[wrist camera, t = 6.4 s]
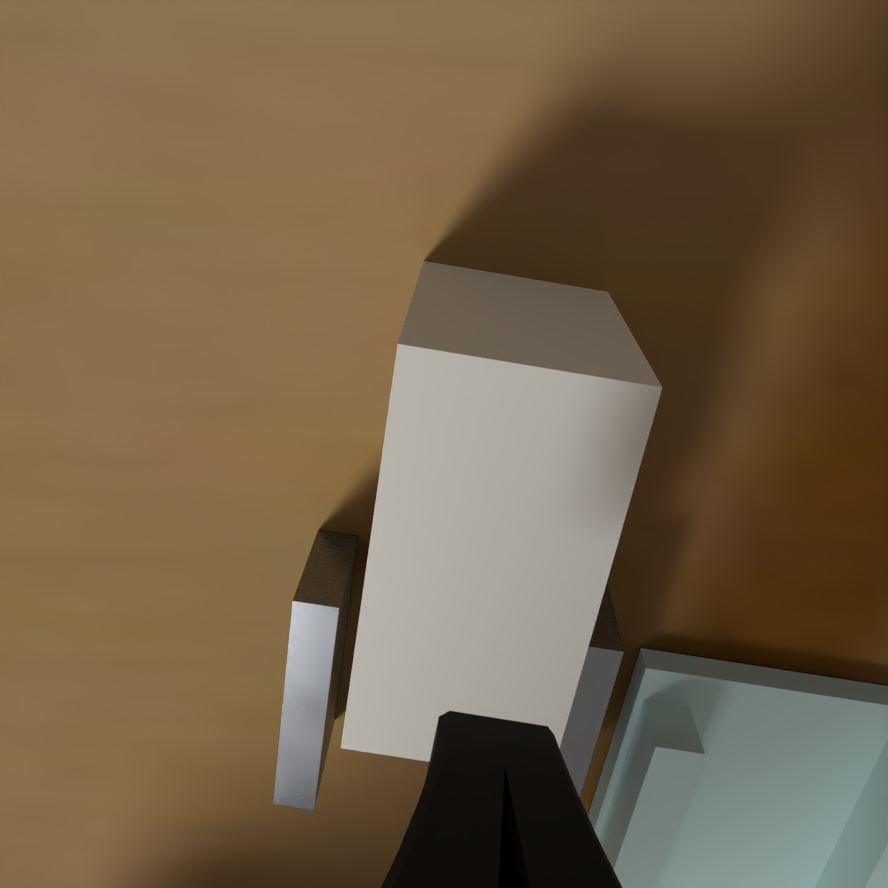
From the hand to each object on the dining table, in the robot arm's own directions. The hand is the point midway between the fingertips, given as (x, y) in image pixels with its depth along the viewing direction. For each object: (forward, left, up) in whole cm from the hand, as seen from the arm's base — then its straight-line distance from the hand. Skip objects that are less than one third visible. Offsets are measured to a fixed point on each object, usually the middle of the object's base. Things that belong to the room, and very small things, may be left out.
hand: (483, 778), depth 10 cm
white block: (0, 0, -10) cm, 10 cm away
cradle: (-11, -9, -10) cm, 17 cm away
